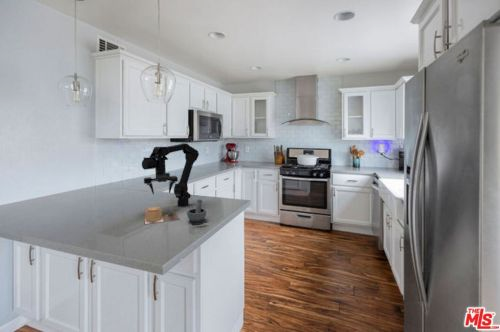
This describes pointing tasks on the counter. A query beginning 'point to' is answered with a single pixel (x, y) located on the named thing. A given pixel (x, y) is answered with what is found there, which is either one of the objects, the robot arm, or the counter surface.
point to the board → (165, 217)
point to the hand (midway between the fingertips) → (161, 193)
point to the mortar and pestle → (197, 214)
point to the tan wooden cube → (153, 214)
